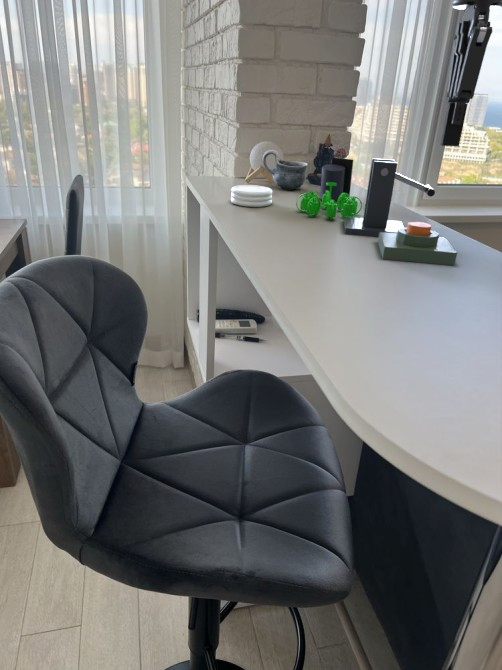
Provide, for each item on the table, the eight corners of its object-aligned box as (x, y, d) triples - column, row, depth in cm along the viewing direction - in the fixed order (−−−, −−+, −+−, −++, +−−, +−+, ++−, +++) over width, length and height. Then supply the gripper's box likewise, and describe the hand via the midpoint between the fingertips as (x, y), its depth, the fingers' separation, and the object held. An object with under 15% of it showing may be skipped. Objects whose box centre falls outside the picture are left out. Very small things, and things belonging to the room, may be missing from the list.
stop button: (427, 232, 91) (429, 222, 90) (431, 238, 87) (433, 227, 86) (404, 230, 91) (406, 220, 90) (407, 236, 88) (409, 226, 87)
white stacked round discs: (258, 209, 117) (259, 194, 115) (222, 203, 121) (223, 188, 119) (279, 203, 124) (280, 188, 123) (244, 197, 129) (245, 182, 127)
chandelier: (355, 208, 123) (359, 179, 120) (365, 223, 109) (370, 191, 106) (293, 205, 123) (296, 175, 120) (296, 219, 110) (299, 186, 106)
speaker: (331, 195, 135) (336, 155, 130) (349, 200, 132) (354, 159, 127) (314, 201, 131) (318, 160, 125) (332, 206, 127) (337, 164, 122)
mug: (308, 192, 139) (312, 154, 134) (263, 190, 138) (265, 152, 133) (302, 186, 147) (305, 149, 143) (259, 184, 146) (261, 147, 142)
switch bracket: (399, 226, 109) (412, 159, 102) (406, 239, 100) (420, 166, 94) (343, 222, 110) (352, 155, 104) (344, 233, 101) (354, 161, 95)
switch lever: (426, 195, 103) (433, 184, 102) (431, 200, 98) (437, 188, 97) (372, 171, 102) (378, 159, 101) (374, 174, 98) (380, 162, 97)
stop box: (442, 248, 95) (447, 227, 93) (454, 265, 86) (459, 242, 84) (377, 243, 96) (381, 222, 94) (382, 259, 87) (386, 236, 85)
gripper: (447, -17, 81) (420, 140, 91) (468, -34, 69) (434, 148, 80) (496, -16, 80) (463, 143, 91) (525, -33, 68) (483, 151, 79)
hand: (449, 145), depth 85 cm, fingers closed
